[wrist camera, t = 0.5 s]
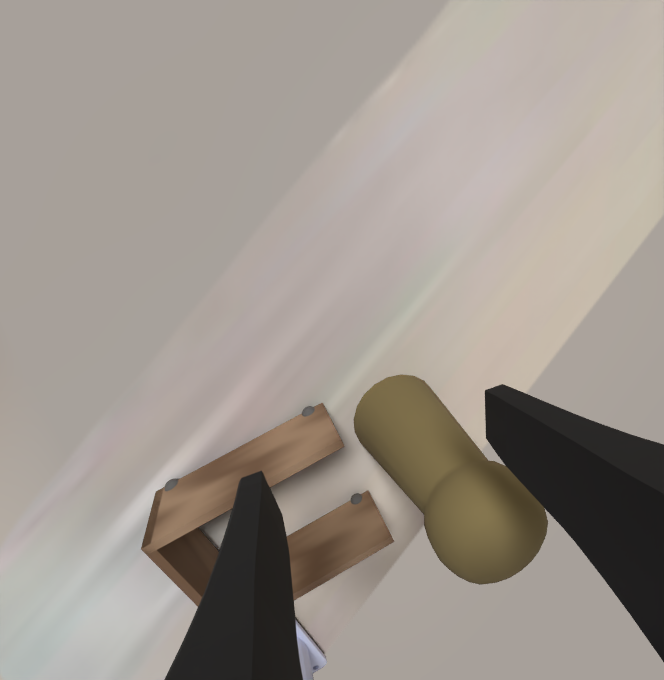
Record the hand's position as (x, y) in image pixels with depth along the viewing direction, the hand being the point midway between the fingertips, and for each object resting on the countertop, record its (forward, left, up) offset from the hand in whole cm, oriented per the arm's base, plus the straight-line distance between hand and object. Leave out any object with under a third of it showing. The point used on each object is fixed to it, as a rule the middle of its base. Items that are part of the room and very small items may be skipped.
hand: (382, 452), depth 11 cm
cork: (+3, -8, -11) cm, 14 cm away
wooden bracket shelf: (-7, -8, -11) cm, 15 cm away
